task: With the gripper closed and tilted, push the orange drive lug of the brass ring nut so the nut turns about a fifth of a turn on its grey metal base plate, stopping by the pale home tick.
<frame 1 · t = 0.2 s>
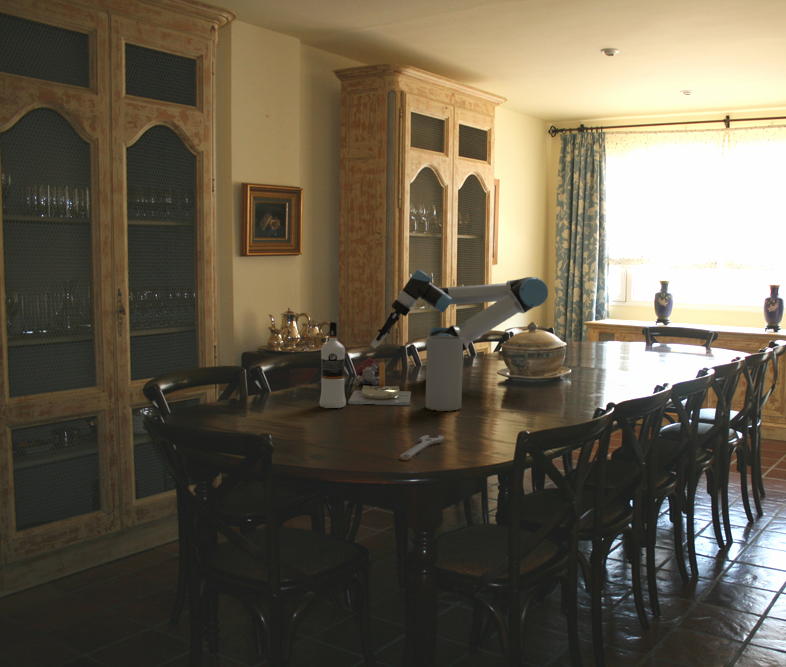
hand: (374, 345, 305), 16 cm above the table, tool tilted 35°, fingers open, 13 cm apart
brake caliper: (369, 384, 308), on the table
vodka: (332, 407, 259), on the table
base plate: (380, 399, 274), on the table
adjustable wrench: (418, 450, 201), on the table
ring nut: (381, 380, 273), point 7 cm above the table, hinge at 0.0°
cylinder vase: (443, 409, 258), on the table
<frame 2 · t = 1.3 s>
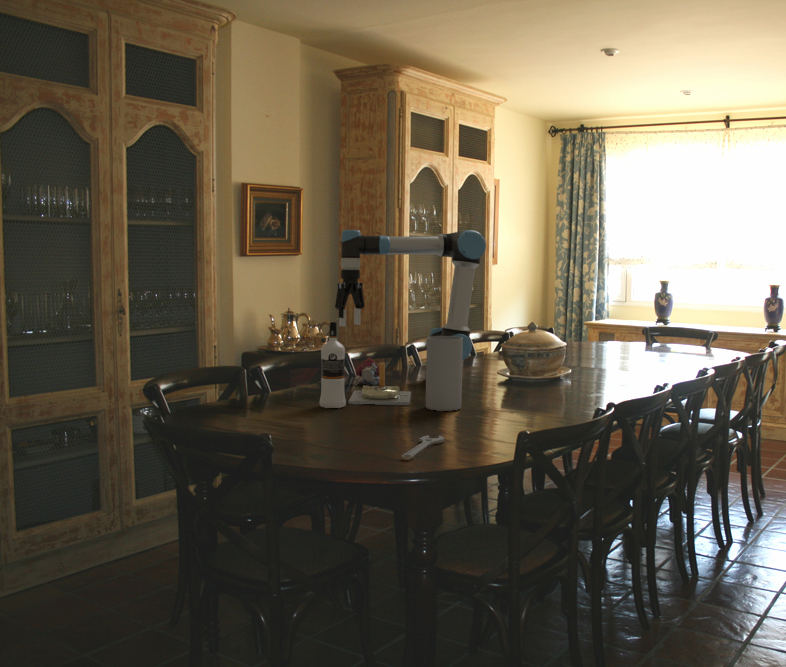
hand: (349, 325, 293), 26 cm above the table, tool pointing down, fingers open, 9 cm apart
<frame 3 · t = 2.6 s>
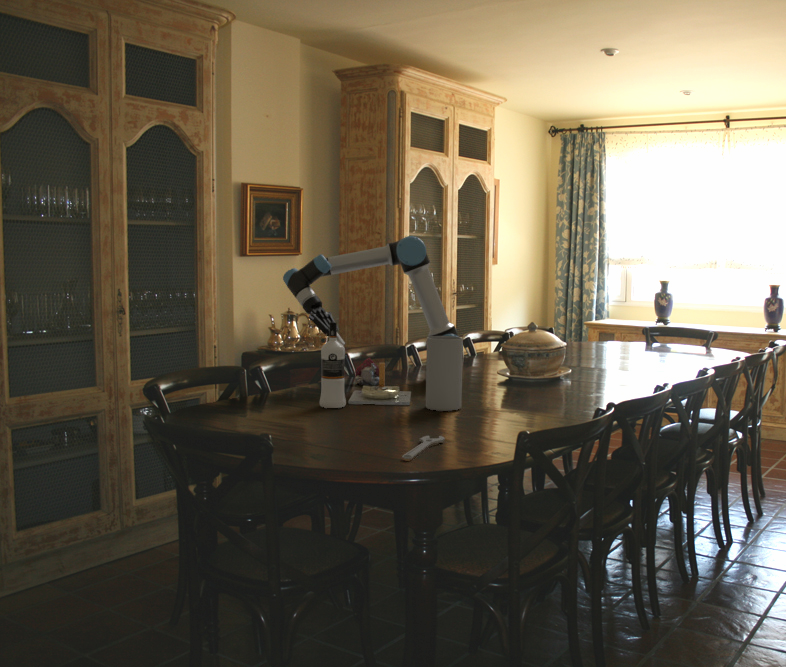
hand: (342, 345, 288), 18 cm above the table, tool tilted 45°, fingers closed
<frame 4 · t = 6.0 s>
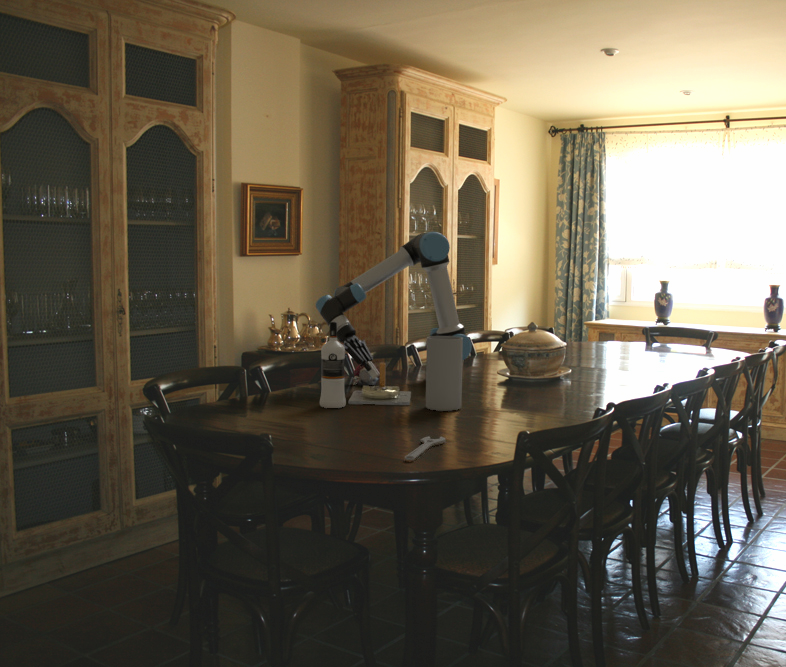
hand: (376, 376, 280), 7 cm above the table, tool tilted 45°, fingers closed
ring nut: (381, 380, 273), point 7 cm above the table, hinge at 2.0°, touching gripper
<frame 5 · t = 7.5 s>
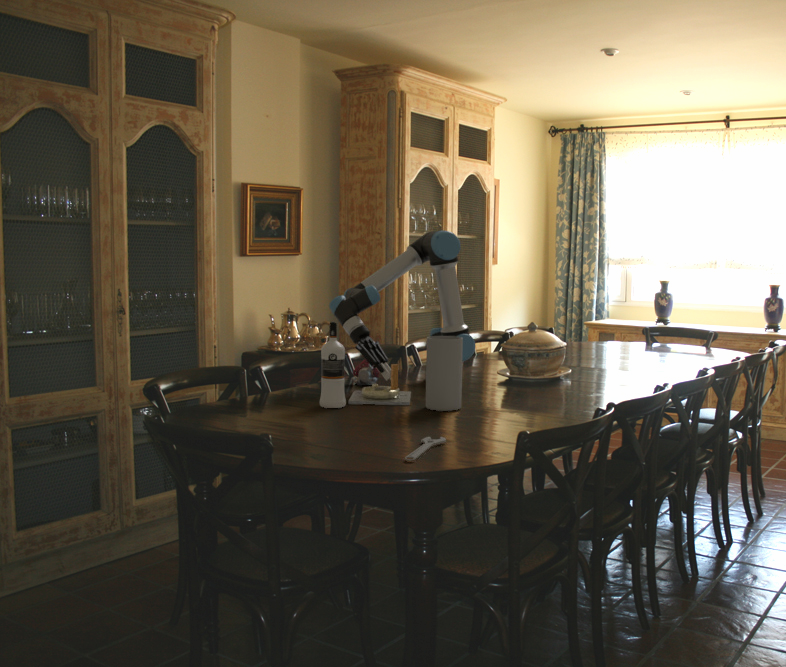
hand: (391, 378, 276), 7 cm above the table, tool tilted 45°, fingers closed on ring nut, 2 cm apart
ring nut: (381, 380, 273), point 7 cm above the table, hinge at 63.2°, touching gripper
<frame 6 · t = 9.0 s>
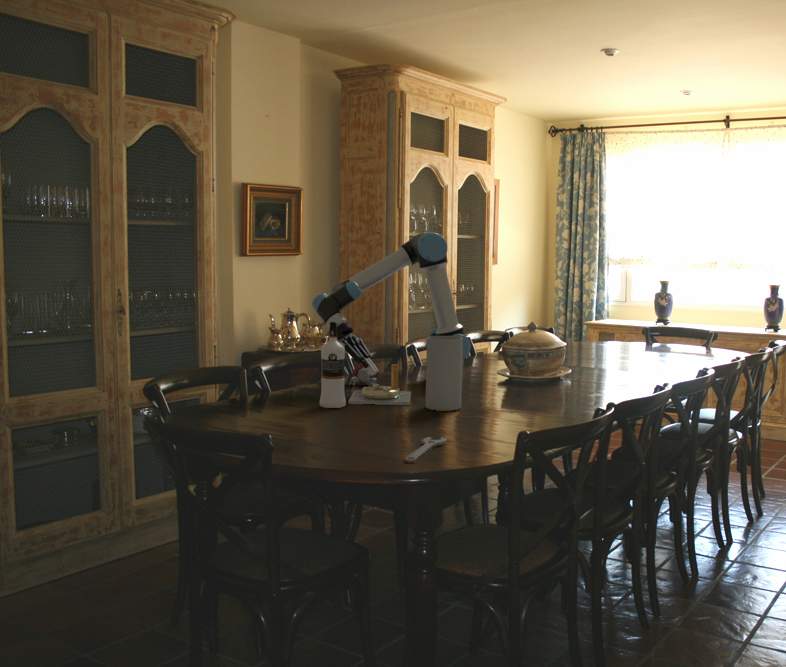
hand: (374, 373, 281), 9 cm above the table, tool tilted 45°, fingers closed
ring nut: (381, 380, 273), point 7 cm above the table, hinge at 65.5°
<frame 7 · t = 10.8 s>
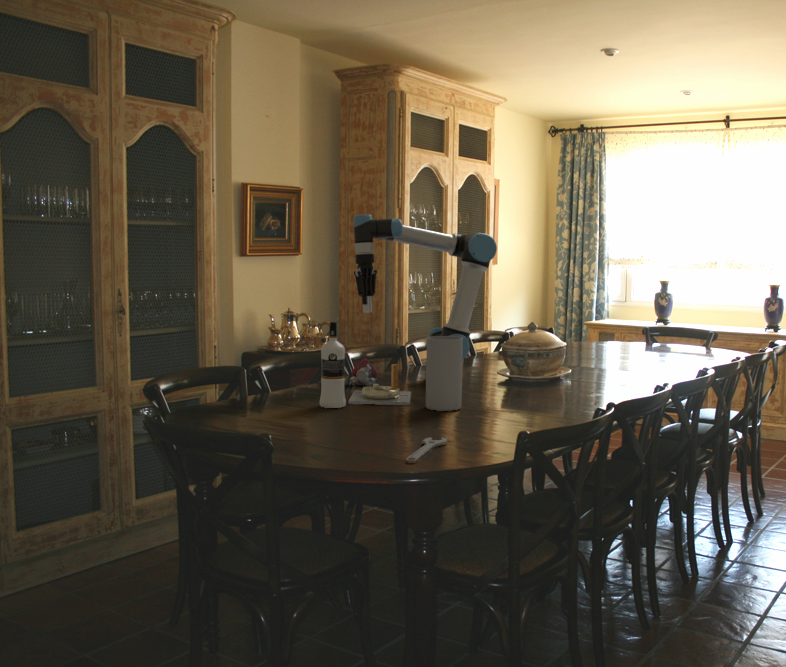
hand: (367, 312, 296), 31 cm above the table, tool pointing down, fingers closed
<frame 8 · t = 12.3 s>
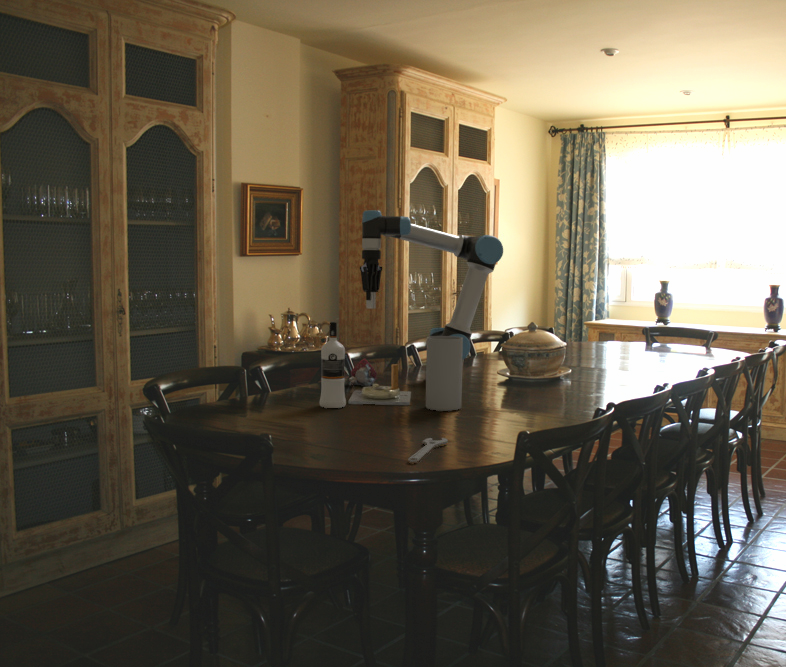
hand: (370, 308, 296), 32 cm above the table, tool pointing down, fingers closed
at the end: ring nut at +66° (first picture: +0°) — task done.
